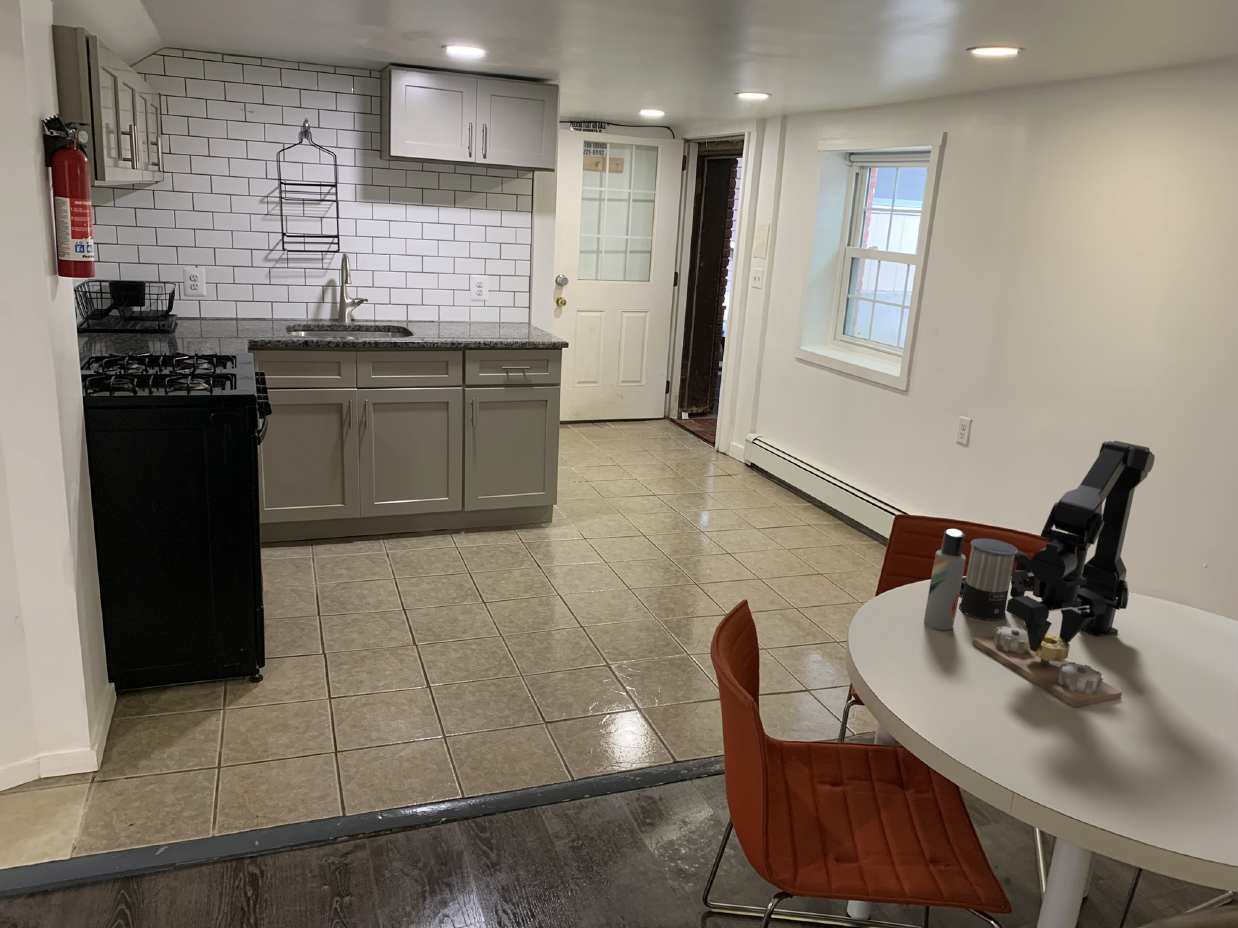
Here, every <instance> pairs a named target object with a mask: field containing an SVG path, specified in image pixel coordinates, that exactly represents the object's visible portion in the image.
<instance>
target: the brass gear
mask: <svg viewBox="0 0 1238 928" xmlns="http://www.w3.org/2000/svg"><path fill="white" fill-rule="evenodd" d="M1059 637H1060V636H1057V635H1054V634H1052V633H1048V632H1047V633H1046V635H1045V637H1044V639H1043V641H1042V643H1041V645H1040V647H1039V648H1038V650H1037V651H1036V652H1034V651H1032V650H1031V649H1030V645H1029V639H1028V643H1027V650H1029V652H1030V653H1031V655H1033V656H1035V657H1036V656H1037V657H1038V658H1041V659H1044V660H1046V661H1054V662H1056V661H1058V662H1063V661H1064V660H1066V659H1068V657H1069V656H1068V655H1069V652H1070V648H1071V645H1070V643H1068V644H1067V642H1066V641H1065V639H1063V638H1061V637H1060V638H1059Z"/></svg>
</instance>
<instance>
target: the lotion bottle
mask: <svg viewBox="0 0 1238 928" xmlns="http://www.w3.org/2000/svg"><path fill="white" fill-rule="evenodd" d="M965 539H966V534H965V533H964V532H963V531H962V530H960V529H957V528H949V529H945V530H944V532H943V538H942V542H941V543H942V544H941V549H939V550H937V551H935V555H934V561H933V566H932V571H931V577H930V583H929V589H928V594H927V600H926V605H925V606H926V607H925V610H924V618H923V622H924V624H925V625H926V626H927V627H929V628H932V629H935V630H939V631H949V630H951V629H953V627H954V624H955V619H956V614H957V608H958V605H959V603H958V602H959V598H960V594H959V593H960V588H961V583H962V578H963V577H964V571H965V566H966V560H967V557H966V555H964V554H963V551H964V550H963V549H964V545H965V544H964V543H965Z"/></svg>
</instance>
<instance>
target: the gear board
mask: <svg viewBox="0 0 1238 928" xmlns="http://www.w3.org/2000/svg"><path fill="white" fill-rule="evenodd" d="M1027 643H1028V634H1027V630H1026V629H1024V628H1021V627H1016V626H1011V625H1004V626H997V627H996V629H995V633H994V634H993V635H989V636H982V637H975V638H973V640H972V645H973V646H975V647H976V648H978V649H979V650H981V651H983V652H984V653H986V654H988V655H990V656H991V657H993V658H994V659H996V660H997V661H999V662H1001V663H1002V664H1004V665H1005V666H1007V667H1009V668H1010V669H1012V670H1014V671H1015V672H1016V673H1018V674H1020V675H1021V676H1023V677H1025V678H1026V679H1028V680H1030V681H1031V682H1033V683H1035V684H1036V685H1037V686H1039V687H1041V688H1043V689H1044V690H1046V691H1047V692H1049V693H1050V694H1052V695H1054V696H1055V697H1058V698H1059V699H1061V701H1064V702H1065V703H1067V704H1068V705H1070V706H1072V707H1073V708H1075V707H1076V708H1080V707H1085V705H1086V706H1090V704H1091V705H1096V704H1099V703H1100V702H1101V703H1104V702H1105V701H1106V702H1109V701H1110V702H1111V701H1114V700H1120V699H1121V698H1122V694H1123V692H1122V691H1120V690H1118V689H1117V688H1115V687H1113V686H1112V685H1110V684H1108V683H1106V682H1105V681H1103V680H1104V679H1103V677H1102V673H1101V672H1100V671H1097V670H1095V669H1094V668H1092V666H1089V665H1087V664H1080V663H1077V662H1073V661H1068V660H1066V659H1065V660H1064V661H1063V662H1058V661H1056V662H1054V661H1046V660H1044V659H1041V658H1038V657H1037V656H1036V657H1035V656H1033V655H1031V653H1030V652H1029V650H1027Z"/></svg>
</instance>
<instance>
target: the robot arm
mask: <svg viewBox="0 0 1238 928" xmlns="http://www.w3.org/2000/svg"><path fill="white" fill-rule="evenodd" d="M1155 459H1156V458H1155V454H1153V452H1152V451H1151V449H1150V447H1146V446H1143V445H1139V444H1133V443H1129V442H1124V441H1120V440H1119V441H1118V440H1114V441H1112V440H1111V441H1110V440H1109V441H1104V442H1102V444H1101V446H1100V450H1099V454H1098V457H1097V458H1096V459H1095V461H1094V463H1093V464H1092V465H1091V467H1090V469H1089V470H1088V471H1087V473H1086V474H1085V477H1084V478H1083V479H1082V480H1081V482H1080V484H1079V486H1078V487H1077V488H1075V489H1072V490H1068V491H1066V492H1065V493H1063V495H1062V496H1061V498H1060V499H1058V501H1057V502H1055V503H1054V504H1053V506H1052V509H1050V512H1049V515H1048V518H1047V520H1046V522H1045V524H1044V527H1043V528H1042V530H1041V533H1040V537H1041V538H1044V539H1047V540H1048V542H1047V543H1046V545H1045V547H1044V548H1042V549H1040V550H1038V551H1037V552H1035V553H1034V555H1032V556H1031V558H1030V560H1031V561H1030V568H1031V572H1030V573H1027V571H1021V570H1017V571H1015V570H1012V574H1011V580H1010V585H1011V587H1013V588H1017V591H1018V592H1022V591H1025V592H1031V593H1032V592H1033V593H1032V595H1033V596H1034V597H1036V598H1040V599H1041V601H1038V600H1036V599H1034V598H1033V597H1030V596H1029V595H1024V596H1020V597H1013V598H1012V597H1011V598H1009V599H1007V602H1006V609H1005V612H1007V613H1009V614H1011V615H1013V616H1015V617H1016V618H1018V619H1020V620H1022V621H1023V622H1024V624H1025V628H1026V629H1025V630H1026V632H1027V634H1028V639H1029V645H1030V649H1031V650H1032V651H1034V652H1036V651H1037V650H1038V648H1039V647H1040V645H1041V643H1042V641H1043V639H1044V637H1045V635H1046V633H1048V632H1049V630H1050V628H1051V626H1052V622H1051V621H1049V620H1048V618H1049V616H1050V613H1051V612H1059V611H1060V613H1061V616H1062V617H1061V624H1060V629H1059V636H1058V637H1059V638H1060V637H1061V638H1063V639H1065V641H1066V642H1067V644H1070V642H1071V641H1072V640H1073V639H1074V638H1075V637H1076V636H1077V635H1078V633H1079V632H1080V631H1081V630H1083V631H1085V632H1087V633H1089V634H1091V635H1093V636H1096V637H1099V636H1105V635H1112V634H1117V633H1119V629H1117V628H1115V627H1113V624H1114V619H1115V615H1116V611H1117V610H1118V611H1121V610H1123V609H1124V610H1126V609H1127V606H1128V603H1129V588H1128V581H1126V579H1127V578H1126V577H1127V572H1128V571H1127V568H1126V566H1125V563H1124V561H1123V559H1122V557H1121V556H1122V551H1123V547H1124V542H1125V537H1126V532H1127V527H1128V522H1129V517H1130V515H1131V514H1130V513H1131V509H1132V504H1133V498H1134V495H1135V490H1136V488H1137V487H1138V486H1139V485H1140V484H1141V483H1142V482H1143V481H1144V480H1146V478H1147V477H1148V475H1149V473H1150V472H1152V469H1153V467H1154V463H1155ZM1103 503H1104V506H1103ZM1053 528H1055V529H1053ZM1095 544H1096V545H1095ZM1092 545H1095V546H1096V547H1095V550H1094V551H1095V552H1094V555H1093V556H1092V557H1090V559H1089V560H1087V556H1088V555H1087V554H1088V550H1089V548H1090V547H1091V546H1092ZM1086 560H1087V562H1086Z"/></svg>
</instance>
